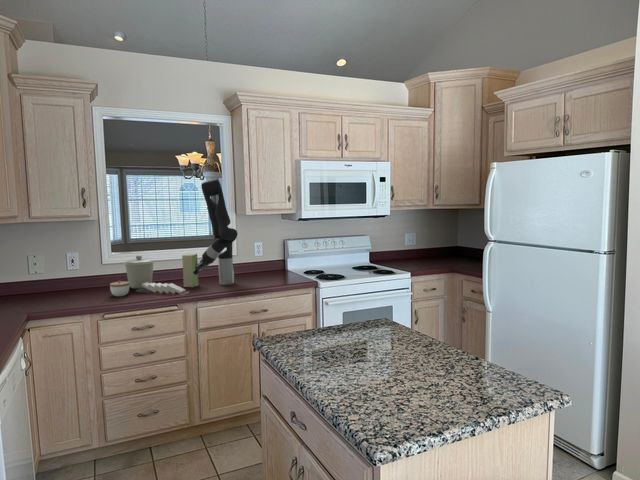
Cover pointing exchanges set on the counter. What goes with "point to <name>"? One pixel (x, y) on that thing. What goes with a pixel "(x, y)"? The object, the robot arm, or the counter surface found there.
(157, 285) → the domino
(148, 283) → the domino
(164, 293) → the runner
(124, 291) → the lidded jar
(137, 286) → the canister
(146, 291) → the domino
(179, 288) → the domino
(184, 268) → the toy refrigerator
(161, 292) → the domino
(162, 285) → the domino
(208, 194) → the robot arm
